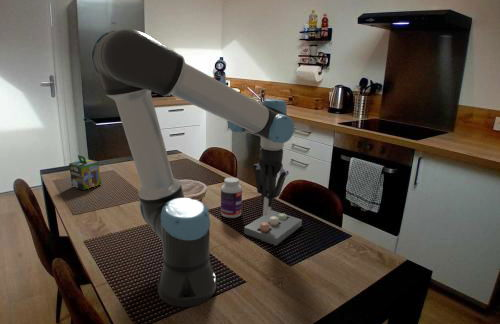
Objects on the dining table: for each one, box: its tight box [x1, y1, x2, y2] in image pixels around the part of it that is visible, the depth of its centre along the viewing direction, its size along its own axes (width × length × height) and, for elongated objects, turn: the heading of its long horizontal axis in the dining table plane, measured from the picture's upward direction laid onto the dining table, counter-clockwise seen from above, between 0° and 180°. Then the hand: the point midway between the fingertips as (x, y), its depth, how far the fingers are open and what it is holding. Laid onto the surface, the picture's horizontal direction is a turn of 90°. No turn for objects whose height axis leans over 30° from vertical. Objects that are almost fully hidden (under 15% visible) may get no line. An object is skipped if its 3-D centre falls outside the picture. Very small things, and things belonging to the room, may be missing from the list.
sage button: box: [278, 212, 288, 221], centre depth 128 cm, size 3×3×3 cm
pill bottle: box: [220, 177, 243, 219], centre depth 133 cm, size 8×8×14 cm
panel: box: [243, 209, 303, 246], centre depth 124 cm, size 18×13×2 cm
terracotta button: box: [260, 222, 270, 233], centre depth 119 cm, size 3×3×3 cm
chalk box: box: [68, 154, 102, 191], centre depth 157 cm, size 9×9×15 cm
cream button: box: [269, 216, 279, 227], centre depth 123 cm, size 3×3×3 cm
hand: (266, 214), depth 119 cm, fingers closed
